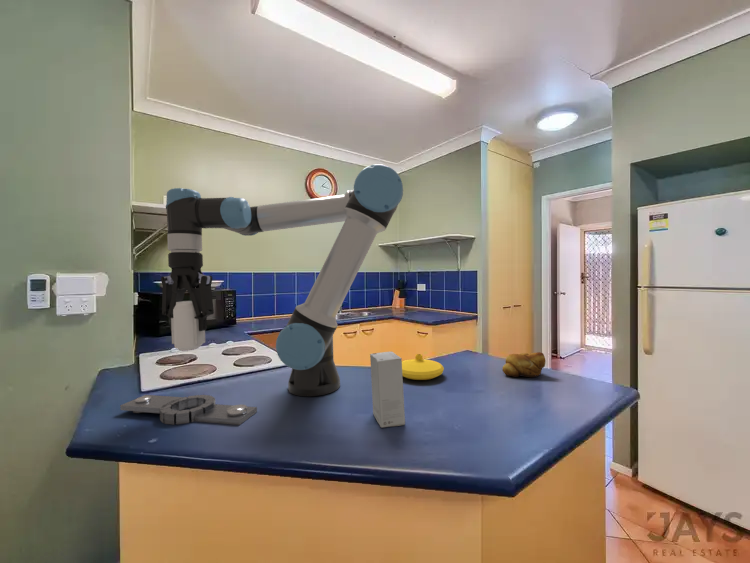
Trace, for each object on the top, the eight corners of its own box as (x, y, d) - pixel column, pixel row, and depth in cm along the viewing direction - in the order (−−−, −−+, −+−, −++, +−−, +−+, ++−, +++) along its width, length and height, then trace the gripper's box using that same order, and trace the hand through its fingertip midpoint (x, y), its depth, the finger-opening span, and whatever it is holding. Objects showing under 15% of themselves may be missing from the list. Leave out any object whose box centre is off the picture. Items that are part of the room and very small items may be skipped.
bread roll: (507, 380, 99) (507, 354, 99) (495, 370, 109) (495, 347, 109) (549, 379, 99) (549, 353, 99) (533, 369, 109) (533, 346, 109)
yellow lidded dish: (384, 376, 105) (384, 355, 105) (416, 366, 116) (416, 347, 116) (422, 388, 94) (422, 364, 93) (453, 376, 104) (453, 354, 104)
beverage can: (186, 345, 85) (185, 300, 85) (208, 346, 85) (206, 300, 84) (168, 351, 79) (166, 302, 79) (191, 351, 78) (189, 302, 78)
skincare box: (405, 425, 71) (404, 358, 71) (379, 429, 70) (377, 360, 69) (394, 410, 79) (393, 349, 79) (370, 412, 78) (369, 351, 77)
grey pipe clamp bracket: (262, 408, 82) (261, 396, 82) (233, 430, 71) (232, 416, 71) (153, 400, 89) (153, 389, 89) (111, 419, 77) (110, 406, 77)
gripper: (228, 251, 83) (231, 341, 83) (167, 254, 87) (170, 339, 88) (206, 249, 75) (209, 348, 76) (141, 252, 80) (145, 345, 81)
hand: (188, 343), depth 82 cm, fingers closed on beverage can, 6 cm apart
